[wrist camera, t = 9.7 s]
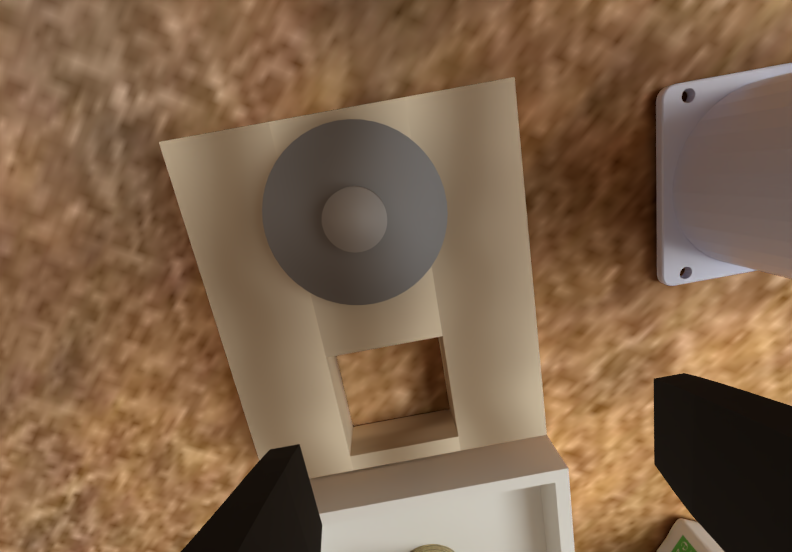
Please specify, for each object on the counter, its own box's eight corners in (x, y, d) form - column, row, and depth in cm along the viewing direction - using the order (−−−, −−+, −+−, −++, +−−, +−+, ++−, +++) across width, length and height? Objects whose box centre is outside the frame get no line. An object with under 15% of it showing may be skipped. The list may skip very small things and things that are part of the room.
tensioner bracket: (496, 89, 15) (538, 59, 11) (528, 407, 19) (569, 469, 15) (187, 146, 15) (120, 136, 11) (278, 453, 18) (252, 527, 15)
